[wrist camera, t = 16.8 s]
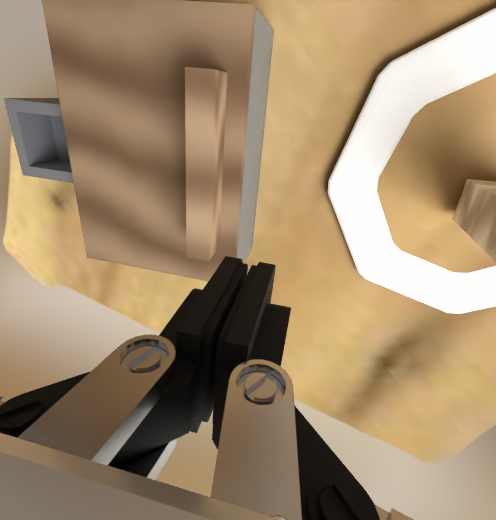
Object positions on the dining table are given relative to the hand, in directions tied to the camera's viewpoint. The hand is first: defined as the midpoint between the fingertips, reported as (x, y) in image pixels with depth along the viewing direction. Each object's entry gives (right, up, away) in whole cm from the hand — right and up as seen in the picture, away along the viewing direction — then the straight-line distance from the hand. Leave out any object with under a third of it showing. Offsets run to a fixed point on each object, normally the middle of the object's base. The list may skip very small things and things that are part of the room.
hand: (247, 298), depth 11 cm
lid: (-8, +10, +17) cm, 22 cm away
